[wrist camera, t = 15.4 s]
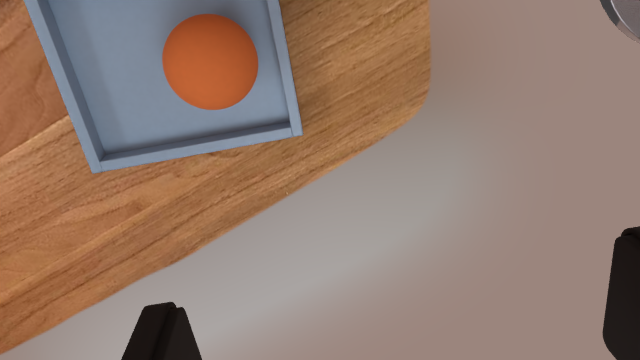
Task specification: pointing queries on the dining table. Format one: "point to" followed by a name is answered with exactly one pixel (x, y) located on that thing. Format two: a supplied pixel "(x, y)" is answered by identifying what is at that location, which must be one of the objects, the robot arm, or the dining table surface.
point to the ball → (210, 61)
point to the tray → (158, 79)
